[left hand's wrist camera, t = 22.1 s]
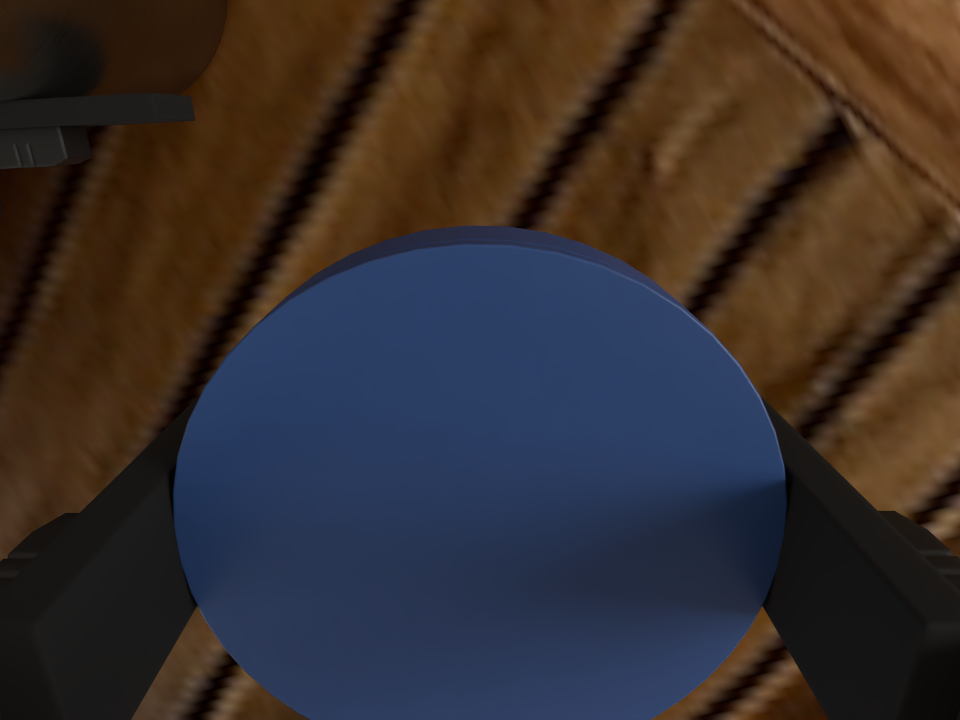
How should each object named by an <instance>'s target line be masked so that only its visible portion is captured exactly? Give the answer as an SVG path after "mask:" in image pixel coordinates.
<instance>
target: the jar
mask: <svg viewBox="0 0 960 720" xmlns="http://www.w3.org/2000/svg"><path fill="white" fill-rule="evenodd" d="M226 8H227V0H0V101H7V100H25V99H43V98H61V97H79V96H97V95H115V94H134V93H161V94H171V95H178V94H179V93H181V92H182V91H184V90H185V89H186V88H187V87H189V86H190V85H191V84H192V83H193V82H194V81H195V80H196V79H197V78H198V77H199V76H200V75H201V74H202V73H203V71H204V70H205V68H206V67H207V66H208V64H209V63H210V61H211V59H212V57H213V55H214V53H215V51H216V49H217V47H218V44H219V41H220V38H221V35H222V33H223V28H224V23H225V18H226Z"/></svg>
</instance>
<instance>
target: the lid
mask: <svg viewBox="0 0 960 720" xmlns="http://www.w3.org/2000/svg"><path fill="white" fill-rule="evenodd" d="M786 515H787V491H786V480H785V469H784V463H783V459H782V455H781V451H780V447H779V443H778V439H777V435H776V431H775V429H774V427H773V424H772V422H771V420H770V417H769V415H768V413H767V410H766V408H765V406H764V403H763V401H762V399H761V397H760V395H759V393H758V392H757V390H756V389H755V387H754V386H753V384H752V382H751V381H750V379H749V378H748V376H747V375H746V373H745V371H744V370H743V368H742V367H741V365H740V364H739V362H738V361H737V360H736V359H735V358H734V357H733V356H732V354H731V353H730V352H729V351H728V350H727V349H726V348H725V346H724V345H723V344H722V343H721V342H720V341H719V340H718V339H717V337H716V336H715V335H714V334H713V333H712V332H711V331H710V330H709V329H708V328H707V327H705V326H704V325H703V324H702V323H701V322H700V321H699V320H698V319H697V318H696V317H694V316H693V315H692V314H691V313H690V312H689V311H688V310H687V309H686V308H685V307H684V306H682V305H681V304H680V303H679V302H678V301H677V300H675V299H674V298H673V297H672V296H671V295H670V294H668V293H667V292H666V291H665V290H664V289H662V288H661V287H660V286H659V285H658V284H657V283H655V282H654V281H653V280H652V279H650V278H648V277H647V276H645V275H644V274H642V273H640V272H639V271H637V270H636V269H634V268H632V267H631V266H629V265H628V264H626V263H624V262H623V261H621V260H619V259H617V258H615V257H613V256H611V255H608V254H606V253H604V252H602V251H599V250H597V249H595V248H593V247H590V246H588V245H586V244H583V243H580V242H577V241H573V240H570V239H566V238H563V237H559V236H556V235H553V234H549V233H546V232H539V231H532V230H526V229H519V228H513V227H506V226H458V227H450V228H441V229H432V230H424V231H420V232H416V233H412V234H408V235H404V236H400V237H396V238H392V239H388V240H385V241H383V242H380V243H378V244H375V245H373V246H370V247H368V248H365V249H363V250H360V251H358V252H355V253H353V254H350V255H348V256H347V257H345V258H343V259H341V260H340V261H338V262H336V263H334V264H333V265H331V266H329V267H327V268H326V269H324V270H322V271H320V272H319V273H317V274H315V275H314V276H313V277H312V278H310V279H309V280H308V281H306V282H305V283H304V284H303V285H301V286H300V287H299V288H297V289H296V290H295V291H294V292H292V293H291V294H290V295H288V296H287V297H286V298H285V299H284V300H283V301H282V302H280V303H279V304H278V305H277V306H276V307H275V308H274V309H273V310H272V311H271V312H269V313H268V314H267V315H266V316H265V317H264V318H263V319H262V320H261V321H260V322H259V323H257V324H256V325H255V326H254V327H253V328H252V329H251V330H250V332H249V333H248V334H247V335H246V336H245V337H244V338H243V339H242V340H241V341H240V342H239V343H238V344H237V345H236V346H235V347H234V348H233V349H232V350H231V351H230V352H229V353H228V355H227V356H226V357H225V359H224V360H223V362H222V363H221V364H220V366H219V367H218V369H217V370H216V372H215V373H214V374H213V376H212V377H211V379H210V380H209V382H208V383H207V384H206V386H205V387H204V389H203V391H202V393H201V396H200V398H199V400H198V402H197V404H196V406H195V408H194V410H193V412H192V414H191V416H190V418H189V420H188V423H187V426H186V429H185V433H184V436H183V439H182V443H181V446H180V449H179V452H178V456H177V463H176V471H175V478H174V485H173V524H174V529H175V534H176V539H177V544H178V549H179V555H180V560H181V564H182V568H183V571H184V574H185V577H186V580H187V583H188V586H189V589H190V591H191V593H192V595H193V597H194V599H195V601H196V603H197V605H198V607H199V609H200V611H201V613H202V615H203V617H204V619H205V621H206V622H207V624H208V625H209V627H210V628H211V630H212V631H213V633H214V634H215V635H216V637H217V638H218V640H219V641H220V643H221V644H222V646H223V647H224V648H225V649H226V651H227V652H228V653H229V654H230V655H231V656H232V657H233V658H234V659H235V661H236V662H237V663H238V664H239V665H240V666H241V667H242V668H243V669H244V671H245V672H246V673H247V674H249V675H250V676H251V677H252V678H253V679H254V680H255V681H256V682H258V683H259V684H260V685H261V686H262V687H263V688H264V689H266V690H267V691H268V692H269V693H270V694H271V695H273V696H274V697H276V698H277V699H279V700H280V701H281V702H283V703H284V704H286V705H287V706H289V707H290V708H292V709H293V710H294V711H296V712H297V713H299V714H301V715H302V716H304V717H306V718H308V719H310V720H650V719H652V718H654V717H656V716H657V715H659V714H660V713H662V712H663V711H665V710H666V709H668V708H670V707H671V706H673V705H674V704H676V703H677V702H679V701H680V700H682V699H683V698H684V697H685V696H687V695H688V694H689V693H690V692H691V691H693V690H694V689H695V688H696V687H698V686H699V685H700V684H701V683H702V682H704V681H705V680H706V679H707V678H708V677H709V676H710V675H711V674H712V673H713V672H714V671H715V670H716V669H717V668H718V667H719V666H720V665H721V664H722V663H723V662H724V660H725V659H726V658H727V657H728V656H729V655H730V654H731V653H732V651H733V650H734V649H735V647H736V646H737V645H738V643H739V642H740V641H741V639H742V638H743V637H744V635H745V634H746V633H747V631H748V630H749V629H750V627H751V625H752V623H753V621H754V620H755V618H756V616H757V614H758V612H759V611H760V609H761V607H762V605H763V603H764V602H765V600H766V597H767V595H768V592H769V590H770V587H771V584H772V582H773V579H774V577H775V574H776V571H777V566H778V562H779V557H780V552H781V547H782V542H783V537H784V532H785V526H786Z"/></svg>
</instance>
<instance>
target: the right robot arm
mask: <svg viewBox="0 0 960 720" xmlns="http://www.w3.org/2000/svg"><path fill="white" fill-rule="evenodd" d="M178 121H195V117H194V112H193V106H192V101H191V97H190V96H181V95H171V94H161V93H134V94H115V95H97V96H79V97H61V98H43V99H25V100H7V101H0V171H1V170H3V169H7V168H25V167H44V166H58V165H69V164H79V163H81V162H83V161H85V160H87V159H89V158H90V157H92V153H91V149H90V145H89V141H88V137H87V133H86V129H85V127H86V126H104V125H123V124H141V123H159V122H178ZM1 214H2V204H1V200H0V216H1Z"/></svg>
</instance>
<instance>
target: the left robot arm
mask: <svg viewBox="0 0 960 720" xmlns="http://www.w3.org/2000/svg"><path fill="white" fill-rule="evenodd" d="M200 396H201V395H200ZM200 396H199V397H198V398H196V399H195V400H194V401H193V402H192V403H191V404H190V405H189V406H188V407H187V408H186V409H185V410H184V411H183V412H182V413H181V414H180V415H179V416H178V417H177V418H176V419H175V420H174V421H173V422H172V423H171V424H170V425H169V426H168V427H167V428H166V429H165V430H164V431H163V432H162V433H161V434H160V435H159V436H158V437H157V438H156V439H155V440H154V441H153V442H152V443H151V444H150V445H149V446H148V447H147V448H146V449H145V450H144V451H142V452H141V453H140V454H139V455H138V456H137V457H136V458H135V459H134V460H133V461H132V462H131V463H130V464H129V465H128V466H127V467H126V468H125V469H124V470H123V471H122V472H121V473H120V474H119V475H118V476H117V477H116V478H115V479H114V480H113V481H112V482H111V483H110V484H109V485H108V486H107V487H106V488H105V489H104V490H103V491H102V492H101V493H100V494H99V495H98V496H97V497H96V498H95V499H94V500H93V501H92V502H91V503H90V504H89V505H87V506H86V507H85V508H84V509H83V510H82V511H81V512H80V513H65V514H63V515H61V516H60V517H58V518H56V519H54V520H53V521H51V522H49V523H47V524H46V525H44V526H42V527H40V528H39V529H37V530H35V531H33V532H32V533H31V534H30V535H29V536H28V537H27V538H25V539H24V540H23V541H22V542H21V543H20V544H19V545H18V546H17V547H16V548H15V549H14V550H12V551H11V552H10V553H9V554H8V558H7V559H3V560H2V561H0V720H131V718H132V717H133V715H134V713H135V712H136V710H137V708H138V706H139V705H140V703H141V701H142V699H143V698H144V696H145V694H146V693H147V691H148V689H149V687H150V686H151V684H152V682H153V681H154V679H155V677H156V675H157V674H158V672H159V670H160V669H161V667H162V665H163V663H164V662H165V660H166V658H167V657H168V655H169V653H170V651H171V650H172V648H173V646H174V645H175V643H176V641H177V639H178V638H179V636H180V634H181V633H182V631H183V629H184V627H185V626H186V624H187V622H188V620H189V619H190V617H191V615H192V614H193V612H194V610H195V608H196V607H197V603H196V601H195V599H194V597H193V595H192V593H191V591H190V589H189V586H188V583H187V580H186V577H185V574H184V571H183V568H182V564H181V560H180V555H179V549H178V544H177V539H176V534H175V529H174V524H173V485H174V478H175V471H176V463H177V456H178V452H179V449H180V446H181V443H182V439H183V436H184V433H185V429H186V426H187V423H188V420H189V418H190V416H191V414H192V412H193V410H194V408H195V406H196V404H197V402H198V400H199V398H200ZM760 397H761V396H760ZM761 399H762V401H763V403H764V406H765V408H766V410H767V413H768V415H769V417H770V420H771V422H772V424H773V427H774V429H775V431H776V435H777V439H778V443H779V447H780V451H781V455H782V459H783V463H784V469H785V480H786V491H787V515H786V526H785V532H784V537H783V542H782V547H781V552H780V557H779V562H778V566H777V571H776V574H775V577H774V579H773V582H772V584H771V587H770V590H769V592H768V595H767V597H766V600H765V602H764V603H763V605H762V606H763V607H764V609H765V611H766V613H767V614H768V616H769V618H770V619H771V621H772V623H773V625H774V626H775V628H776V630H777V632H778V633H779V635H780V637H781V638H782V640H783V642H784V644H785V645H786V647H787V649H788V650H789V652H790V654H791V656H792V657H793V659H794V661H795V662H796V664H797V666H798V668H799V669H800V671H801V673H802V674H803V676H804V678H805V680H806V681H807V683H808V685H809V686H810V688H811V690H812V692H813V693H814V695H815V697H816V698H817V700H818V702H819V704H820V705H821V707H822V709H823V711H824V712H825V714H826V716H827V717H828V719H829V720H960V559H959V558H958V557H957V556H952V552H951V551H950V550H949V549H948V548H947V547H946V546H945V545H944V544H943V543H942V542H940V541H939V540H938V539H937V538H936V537H935V536H934V535H933V534H932V533H931V532H930V531H928V530H927V529H925V528H924V527H922V526H920V525H918V524H917V523H915V522H913V521H911V520H910V519H908V518H906V517H904V516H903V515H901V514H899V513H897V512H896V511H877V510H876V509H875V508H874V507H873V506H872V505H871V504H870V503H869V502H868V501H867V500H866V499H865V498H864V497H863V496H862V495H861V494H860V493H859V492H858V491H857V490H856V489H855V488H854V487H853V486H852V485H851V484H850V483H849V482H848V481H847V480H846V479H845V478H844V477H843V476H842V475H840V474H839V473H838V472H837V471H836V470H835V469H834V468H833V467H832V466H831V465H830V464H829V463H828V462H827V461H826V460H825V459H824V458H823V457H822V456H821V455H820V454H819V453H818V452H817V451H816V450H815V449H814V448H813V447H812V446H811V445H810V444H809V443H808V442H807V441H806V440H805V439H804V438H803V437H802V436H801V435H800V434H799V433H798V432H797V431H796V430H795V429H794V428H793V427H792V426H791V425H790V424H789V423H788V422H787V421H785V420H784V419H783V418H782V417H781V416H780V415H779V414H778V413H777V412H776V411H775V410H774V409H773V408H772V407H771V406H770V405H769V404H768V403H767V402H766V401H765V400H764V399H763V398H762V397H761Z"/></svg>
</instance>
